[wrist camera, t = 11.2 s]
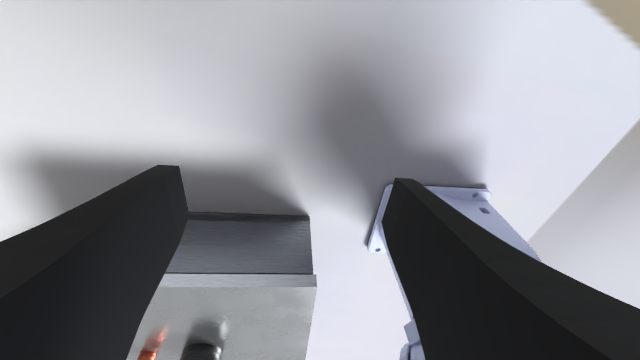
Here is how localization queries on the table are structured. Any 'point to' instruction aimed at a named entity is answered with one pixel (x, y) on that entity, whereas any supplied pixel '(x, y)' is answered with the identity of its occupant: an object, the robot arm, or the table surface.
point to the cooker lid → (227, 318)
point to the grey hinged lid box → (244, 245)
